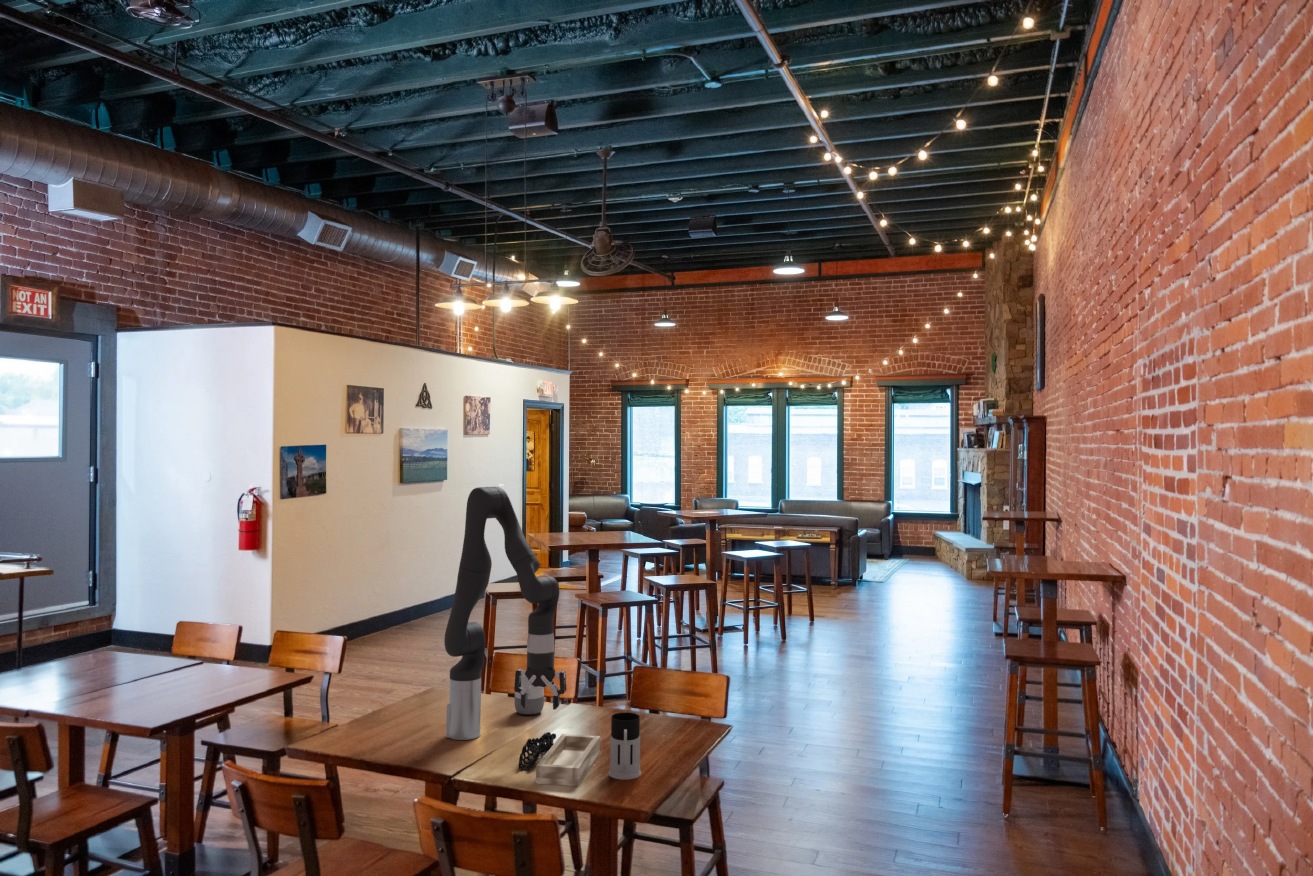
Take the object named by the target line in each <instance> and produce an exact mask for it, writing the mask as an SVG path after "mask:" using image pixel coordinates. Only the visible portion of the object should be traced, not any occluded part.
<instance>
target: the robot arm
mask: <svg viewBox="0 0 1313 876" xmlns="http://www.w3.org/2000/svg"><path fill="white" fill-rule="evenodd" d="M465 509H466V511H465V527H464V537H463V544H462V549H461V550H462V551H461V555H460V556H461V557H460V561H459V566H458V572H457V581H456V586H455V590H454V591H455V592H454V596H453V602H452V606H451V609H450V610H451V611H450V613H449V617H448V621H447V624H446V628H445V632H444V640H443V641H444V644H443V645H444V649H445V652H446V653H447V655H448V656H450V657H452V658H453V657H456V658H457V657H461V659H460V660H459V661H457V663H456V664H455V665H453V666H452V667H451V668H450V670H449V692H448V693H449V697H448V699H449V700H448V701H449V702H448V704H447V705H446V720H445V721H446V723H445V725H446V727H445V728H446V730H445V736H446V737H445V738H448V739H451V740H454V741H455V740H456V741H467V740H468V741H469V740H475V739H477V738H479V737H480V736H481V728H482V727H481V722H482V721H481V720H482V719H481V716H482V715H481V714H482V713H481V712H482V671H483V668H484V666H485V665H484V664H485V654H486V653H485V652H486V651H485V650H486V634H485V630H484V627H482V625H481V624H480V623H478V622H477V621H472V622H469V620H470V617H471V614H472V612H473V609H474V608H475V606H476V605H477V604H478V602H479V600H481V598H482V596H483V595H484V593H485V591H486V590H487V588H488V585H489V582H490V577H491V572H492V562H493V561H492V558H491V553H490V551H489V549H488V546H487V544H486V540H485V529H486V524H487V520H488V519H495V520H497V522H498V524H499V525H500V526H501V528H502V530H503V536H504V552H505V554H506V558H507V559H508V561H509V563H510V565H511V566H512V567H513V568H512V569H514V571H515V573H516V576H517V581H518V583H519V584H518V585H519V587H520V588H519V589H520V591H521V592H520V593H521V595H522V596H523V598H524V599H525V600H526V601H527V602H528V603H530V604H534V605H535V604H537V606H536V608H535V609H534V610H533V611H531V612H529V614H528V618H527V620H528V621H527V638H526V639H527V640H526V669H524V670H523V669H522V668H518V669H517V670H515V674H514V686H513V687H514V688H513V691H514V693H515V692H518V693H520V694H521V706H523V708H527V706H528V693H527V691H528V689H529V688H530V687H531V686H532V685H533V686H534V687H538V686H541V687H543V688H545V687H547V688H548V690H550V691H551V693H552V694H553V696H552V710H554V711H555V710H557V709H558V708H559V707H560V698H561V697H560V696H561V695H564V694H565V693H566V692H567V675H566V674H567V673H566V670H561V671H556V670H555V669H556V668H555V647H556V646H555V636H554V625H555V623H554V619H555V618H554V617H555V614H556V610H557V606H558V602H559V598H560V586H559V582H558V580H556V578H555V577H553V576H549V575H546V576H545V575H544V576H539V577H538V576H537V575H536V572H538V571H539V569H540V566H541V565H540V561H539V559H538V557H537V556H536V554H535V552H534V551H533V549H532V547H531V546H530V544H529V542H528V540H527V538H526V537H525V534H524V532H523V530H522V527H521V525H520V522H519V519H518V516H517V515H516V512H515V510H514V507H513V504H512V501H511V500H510V497H509V495H508V493H507V492H506V491H505V489H504V488H502V487H499V486H483V487H482V486H480V487H478V486H477V487H474V488H473V489H472V490H470V493H469V494H468V498H467V501H466V508H465ZM524 675H526V677H527V678H528V680H529V681H528V682H527V684H526V685H525V686H524V688H522V687H521V679H522V677H523V676H524ZM555 677H556V678H557V680H558V681H559V688H558V685H557V684H556V682H555V681H554V678H555Z"/></svg>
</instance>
